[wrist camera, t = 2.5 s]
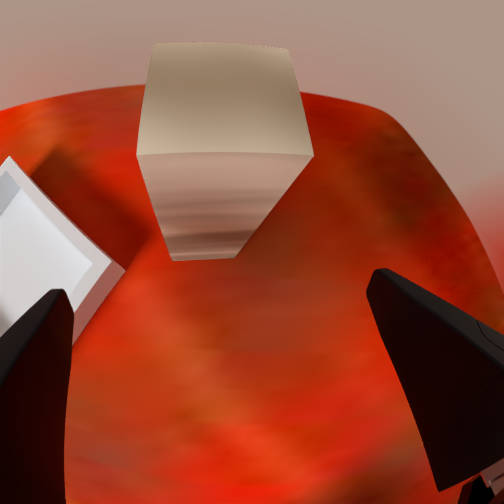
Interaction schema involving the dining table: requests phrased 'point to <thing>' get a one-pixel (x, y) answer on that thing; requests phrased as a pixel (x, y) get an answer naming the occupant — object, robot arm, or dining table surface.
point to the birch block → (219, 142)
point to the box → (46, 254)
